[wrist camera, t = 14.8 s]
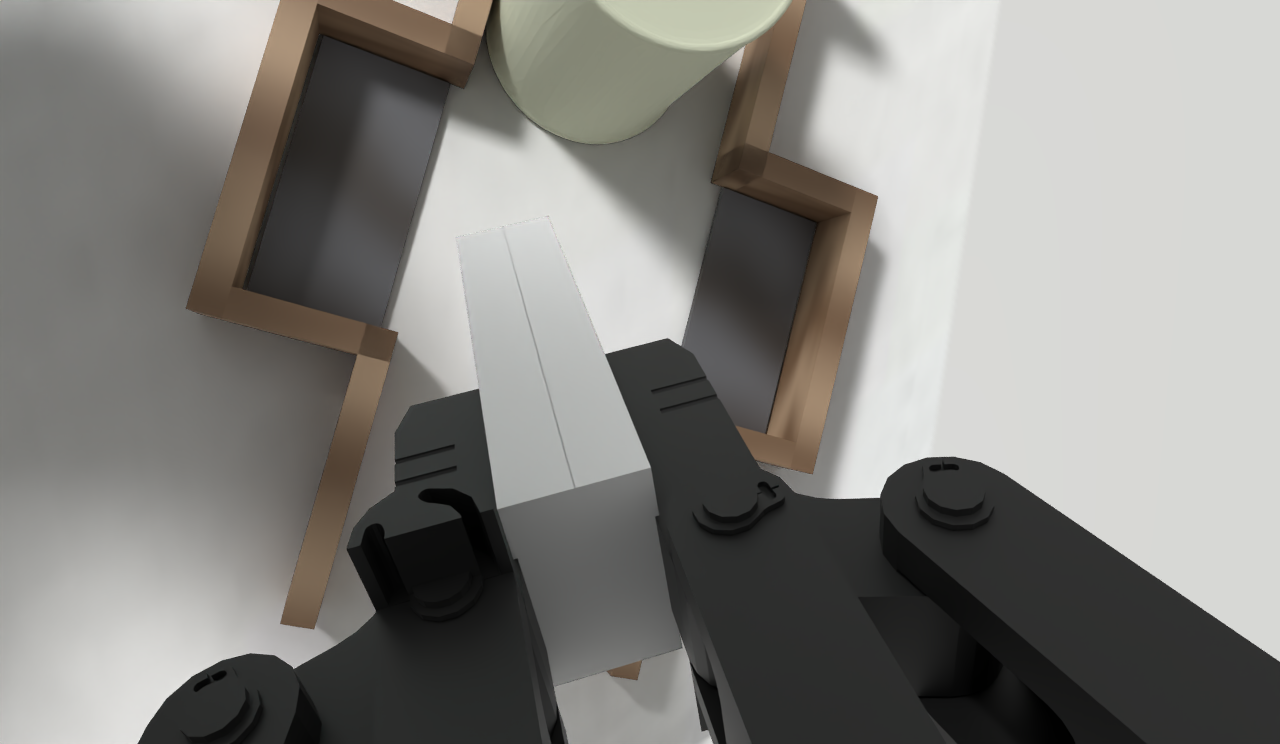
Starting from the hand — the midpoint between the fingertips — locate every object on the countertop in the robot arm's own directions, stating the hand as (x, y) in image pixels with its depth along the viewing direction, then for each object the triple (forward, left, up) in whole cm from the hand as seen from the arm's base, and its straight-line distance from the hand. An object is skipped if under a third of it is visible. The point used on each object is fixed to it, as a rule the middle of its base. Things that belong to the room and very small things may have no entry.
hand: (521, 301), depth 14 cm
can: (+15, +6, -23) cm, 28 cm away
